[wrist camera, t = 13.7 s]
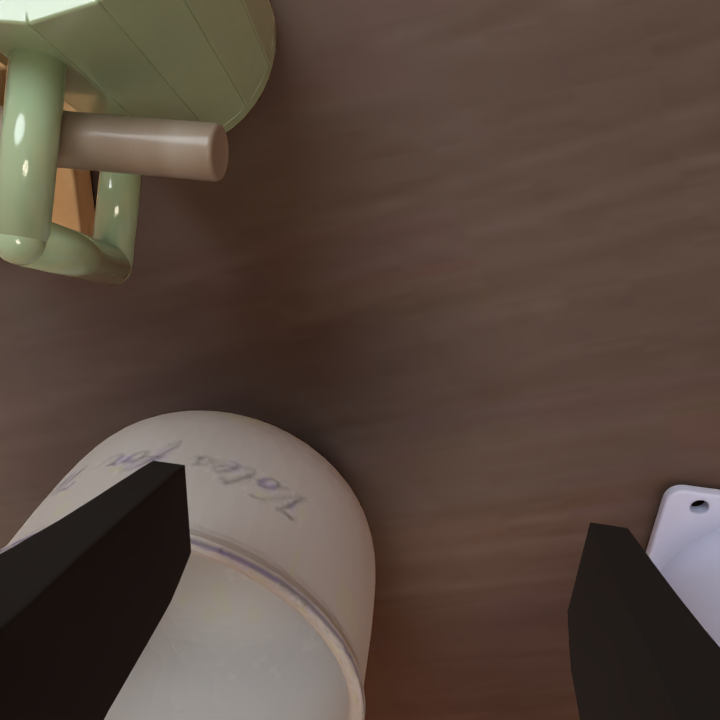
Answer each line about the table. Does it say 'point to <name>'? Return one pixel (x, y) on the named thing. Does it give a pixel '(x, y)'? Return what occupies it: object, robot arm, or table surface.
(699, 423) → the table surface
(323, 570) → the teacup
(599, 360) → the table surface
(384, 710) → the table surface
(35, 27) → the mug
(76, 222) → the mug stand
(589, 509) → the table surface
